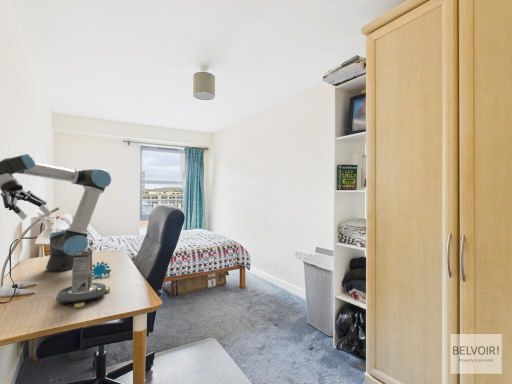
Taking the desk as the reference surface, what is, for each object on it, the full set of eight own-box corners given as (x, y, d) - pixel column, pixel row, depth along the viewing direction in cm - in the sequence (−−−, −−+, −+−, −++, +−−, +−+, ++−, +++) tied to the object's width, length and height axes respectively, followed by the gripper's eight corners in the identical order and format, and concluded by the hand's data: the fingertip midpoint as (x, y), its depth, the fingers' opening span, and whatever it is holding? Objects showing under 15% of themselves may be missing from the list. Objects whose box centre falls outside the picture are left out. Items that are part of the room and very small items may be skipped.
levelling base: (74, 289, 130) (74, 280, 130) (115, 290, 129) (116, 281, 129) (37, 307, 109) (37, 296, 109) (85, 309, 108) (86, 298, 108)
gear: (85, 276, 146) (93, 260, 153) (87, 281, 150) (95, 265, 157) (106, 278, 147) (113, 262, 154) (108, 283, 151) (115, 267, 158)
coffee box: (76, 286, 122) (76, 251, 122) (92, 285, 124) (92, 250, 124) (71, 293, 113) (71, 255, 114) (88, 291, 116) (89, 254, 116)
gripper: (27, 190, 142) (53, 219, 141) (-25, 190, 118) (7, 224, 117) (36, 180, 142) (63, 209, 141) (-13, 178, 117) (19, 212, 116)
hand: (38, 216), depth 129 cm, fingers open, 13 cm apart
